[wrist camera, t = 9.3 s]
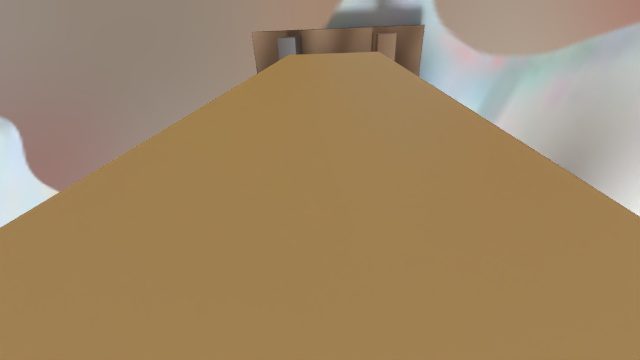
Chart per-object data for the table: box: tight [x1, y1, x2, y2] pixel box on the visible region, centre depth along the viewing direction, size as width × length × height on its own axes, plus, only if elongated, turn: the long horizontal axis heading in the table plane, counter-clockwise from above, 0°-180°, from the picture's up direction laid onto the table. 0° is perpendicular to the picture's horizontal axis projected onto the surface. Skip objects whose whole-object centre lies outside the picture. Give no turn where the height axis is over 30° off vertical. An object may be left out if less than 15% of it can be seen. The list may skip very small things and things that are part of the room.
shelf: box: [252, 25, 425, 76], centre depth 28 cm, size 17×14×12 cm
